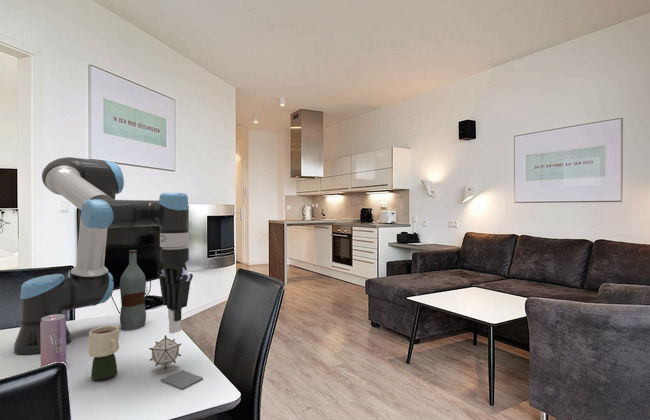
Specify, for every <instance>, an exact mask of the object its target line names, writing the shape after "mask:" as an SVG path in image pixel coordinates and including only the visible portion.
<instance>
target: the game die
mask: <svg viewBox="0 0 650 420" xmlns="http://www.w3.org/2000/svg"><path fill="white" fill-rule="evenodd" d="M175 341H176V338H173V339H170V338H168V337H167V335H166V334H165V335H164V338H163V339H161V340H160V341H155V345H154V346H153V347H149V348H148V349H149V351H151V358H150V359H149V360H148V361H149V362H151V361H153V362H154V363H155V366H154V367H158V365H159V366H162V367H164V369H165V370H166V369H167V366H169V365H170V364H172V363H173V364H177V361H176V360H177V358H178V357H181V356H182V355H181V353H180V346H182V343H179V344H178V343H177V342H175Z"/></svg>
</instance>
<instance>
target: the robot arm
mask: <svg viewBox="0 0 650 420" xmlns="http://www.w3.org/2000/svg"><path fill="white" fill-rule="evenodd" d="M41 180H42V184H43V185H44V186H45V188H46V189H47V190H48V191H50V192H51V193H53V194H54V195H58V196H61V197H63V198H64V199H66V200H67V201H68V202H70V203H71V204H72V205H74V206H75V207H76V208H77V209H79V210H80V217H79V230H78V242H77V255H76V265H75V266H74V267H73V268H72V269H71V270H70V274H69V275H70V276H67V277H65V275H64V274H62V273H53V274H47V275H46V274H45V275H42V276H37V277H33V278H31V279H28V280H26V281H24V282H23V283H22V285H21V289H20V296H19V298H20V328H19V331H18V334H17V337H16V339H15V341H14V344H13V349H14V350H13V351H14V353H15V354H17V355H35V354H36V355H37V354H41V336H40V323H41V319H42V318H43V317H46V316H50V315H56V314H64V315H65V312H66V311H70V310H77V309H81V308H87V307H94V306H97V305H100V304H104V303H106V302H107V301H108V300H109V299H110V298H111V296H112V294H113V292H114V287H115V286H114V285H115V284H114V283H115V282H114V278H113V274H111V272H109V268H107V267H106V266H105V259H106V248H107V237H108V229H114V228H116V229H117V228H133V227H136V228H137V227H138V228H139V227H159V247H160V250H159V262H160V263H162V264H163V265H162V270H158V271H157V277H158V279H159V285H160V293H161V299H162V305H163V306H166V308H167V309H168V314H167V315H168V333H169V334H175V333H178V332H181V331H182V309H183V308H186V307H187V305H188V300H189V294H190V288H191V282H192V280H193V277H194V275H193V273H189V272H188V270H187V264H186V263H187V262H188V261H189V259H190V253H189V252H190V251H189V250H190V249H189V248H188V247H189V246H190V238H189V236H190V232H189V227H190V226H189V225H190V223H189V218H190V217H189V216H190V214H189V213H190V205H189V196H188V194H186V193H185V192H161V193H160V195H159V197H158V198H159V200H157V199H156V200H154V199H153V200H150V199H149V200H146V199H145V200H143V199H141V200H139V199H137V200H136V199H135V200H133V199H116V195H119V194H121V193H122V191H123V189H124V187H125V186H124V185H125V180H124V175H123V171H122V169H121V167H120V166H119V165H118V164H117V163H116V162H113V161H108V160H103V159H92V158H91V159H90V158H79V157H69V156H68V157H60V158H57V159H53V160H52V161H50V162H49V163H48V164H47V165H46V166H45V167H44V168H43V170H42V172H41ZM71 340H72V339H71V332H70V330H69V328H68V325H67V324H66V346H67V345H69V344H70V343H71V342H72V341H71Z"/></svg>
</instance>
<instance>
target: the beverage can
mask: <svg viewBox="0 0 650 420" xmlns="http://www.w3.org/2000/svg"><path fill="white" fill-rule="evenodd" d="M66 325H67V318H66V315H65V313H64V314H56V315H50V316H46V317H43V318H42V319H41V323H40V336H41V353H40V368H41V367H42V366H45V365H48V364H51V363H54V362H64V363H65V364H66V365H67V345H66Z"/></svg>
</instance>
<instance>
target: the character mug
mask: <svg viewBox="0 0 650 420" xmlns="http://www.w3.org/2000/svg"><path fill="white" fill-rule="evenodd" d="M119 338H120V327H119V326H117V325H106V326H101V327H96V328H92V329H91V330H90V331H89V332H88V356H90V357H91V358H93V359H92V365H91V371H90V372H91V374H90V378H91V380H94V381H99V380H102V379H109V378H111V377H115V376H116V375H117V374H118V365H117V359H116V355H115V354H116V353H117V351H119V350H120V344H119Z"/></svg>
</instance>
